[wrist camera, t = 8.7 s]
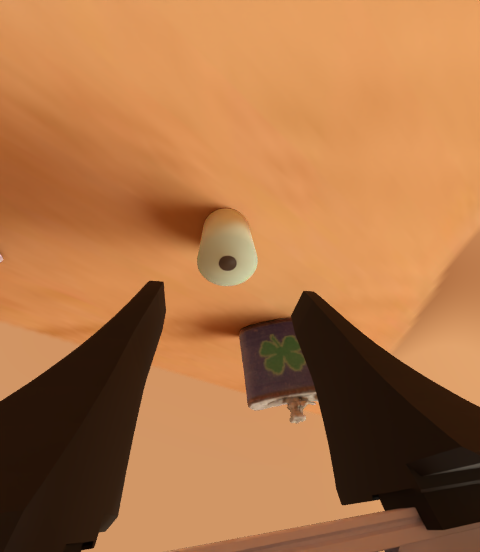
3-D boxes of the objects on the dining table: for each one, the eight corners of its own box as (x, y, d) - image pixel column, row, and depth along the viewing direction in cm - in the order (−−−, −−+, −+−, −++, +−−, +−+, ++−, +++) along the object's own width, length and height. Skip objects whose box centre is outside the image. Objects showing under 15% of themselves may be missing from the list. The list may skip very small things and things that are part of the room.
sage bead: (206, 252, 18) (202, 288, 14) (199, 209, 15) (191, 238, 11) (249, 249, 18) (257, 284, 14) (249, 206, 16) (258, 233, 12)
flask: (239, 338, 27) (251, 435, 18) (237, 325, 25) (249, 426, 17) (304, 327, 27) (346, 418, 18) (306, 313, 25) (353, 408, 17)
